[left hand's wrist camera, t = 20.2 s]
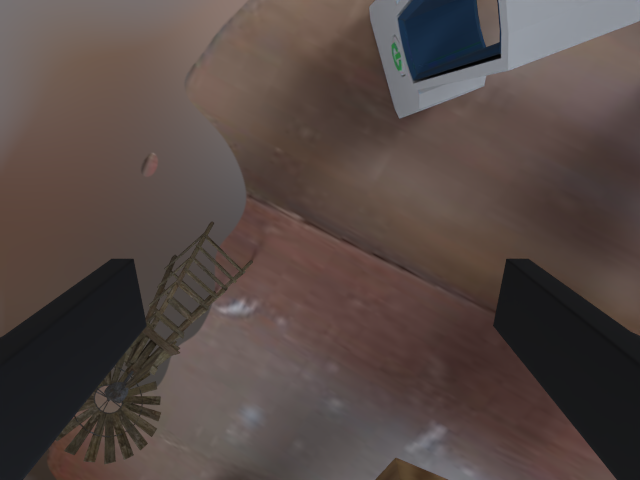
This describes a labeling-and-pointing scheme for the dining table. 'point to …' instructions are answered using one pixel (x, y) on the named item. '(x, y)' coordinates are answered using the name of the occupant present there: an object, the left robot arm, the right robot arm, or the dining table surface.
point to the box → (406, 472)
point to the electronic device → (478, 41)
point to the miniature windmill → (144, 365)
